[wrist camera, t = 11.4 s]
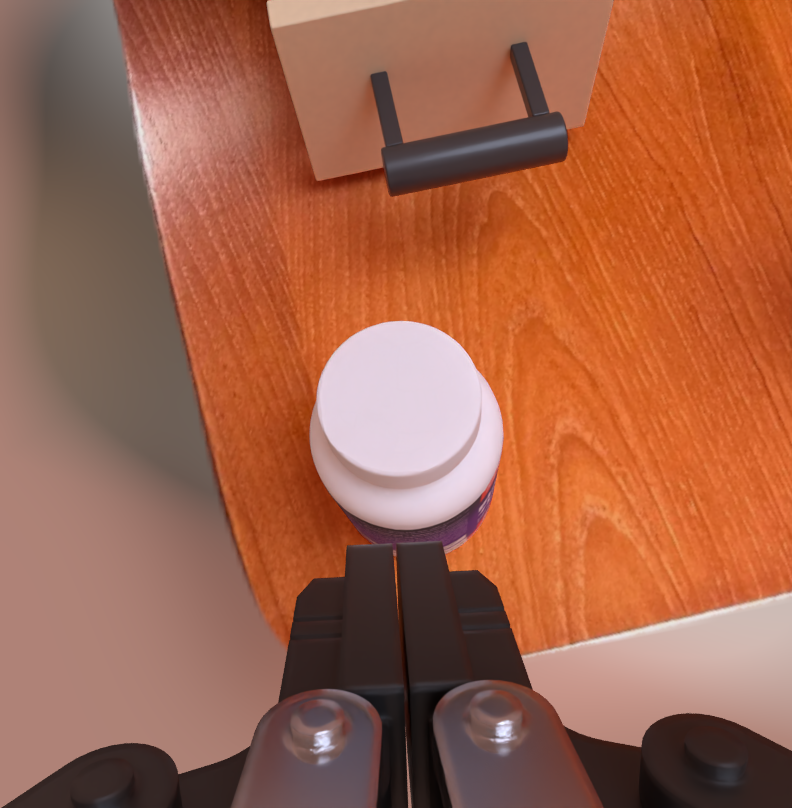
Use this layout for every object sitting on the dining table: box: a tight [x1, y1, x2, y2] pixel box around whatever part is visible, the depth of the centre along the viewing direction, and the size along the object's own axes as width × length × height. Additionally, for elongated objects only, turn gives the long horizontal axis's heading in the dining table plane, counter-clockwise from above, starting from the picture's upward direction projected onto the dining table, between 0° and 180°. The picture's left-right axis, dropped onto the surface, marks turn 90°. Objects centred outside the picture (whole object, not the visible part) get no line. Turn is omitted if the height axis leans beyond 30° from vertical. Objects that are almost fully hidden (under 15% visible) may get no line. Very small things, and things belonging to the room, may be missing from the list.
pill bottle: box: [310, 321, 503, 556], centre depth 21 cm, size 5×5×10 cm
